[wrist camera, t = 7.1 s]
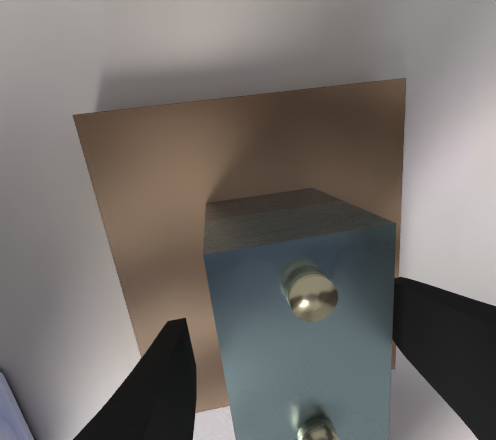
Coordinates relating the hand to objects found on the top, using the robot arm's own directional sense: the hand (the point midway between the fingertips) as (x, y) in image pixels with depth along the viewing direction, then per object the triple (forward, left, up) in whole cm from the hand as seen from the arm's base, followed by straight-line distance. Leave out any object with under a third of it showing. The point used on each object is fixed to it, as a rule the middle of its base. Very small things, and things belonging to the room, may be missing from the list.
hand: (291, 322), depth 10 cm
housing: (0, 0, -4) cm, 4 cm away
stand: (0, 0, -6) cm, 6 cm away
